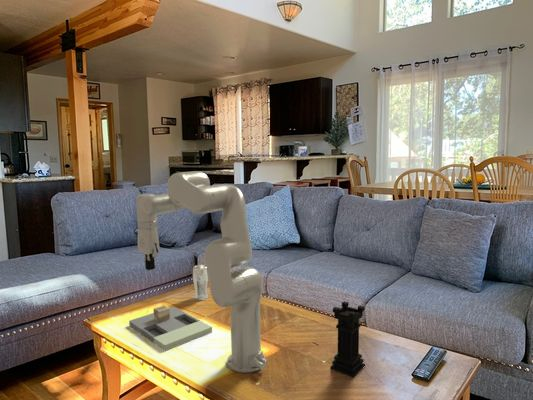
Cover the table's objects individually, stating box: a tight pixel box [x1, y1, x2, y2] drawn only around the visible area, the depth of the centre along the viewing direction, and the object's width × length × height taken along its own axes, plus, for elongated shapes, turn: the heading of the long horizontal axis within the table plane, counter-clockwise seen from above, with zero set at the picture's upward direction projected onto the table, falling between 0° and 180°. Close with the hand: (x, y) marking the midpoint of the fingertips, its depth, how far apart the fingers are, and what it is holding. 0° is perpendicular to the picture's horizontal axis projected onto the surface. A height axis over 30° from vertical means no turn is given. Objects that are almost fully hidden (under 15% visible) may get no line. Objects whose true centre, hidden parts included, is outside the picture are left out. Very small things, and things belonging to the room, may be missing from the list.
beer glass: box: [192, 264, 209, 301], centre depth 189 cm, size 7×7×15 cm
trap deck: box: [128, 306, 213, 351], centre depth 158 cm, size 28×20×2 cm
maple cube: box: [152, 305, 170, 323], centre depth 162 cm, size 4×4×4 cm
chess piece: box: [330, 301, 366, 378], centre depth 128 cm, size 8×8×20 cm
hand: (150, 269), depth 165 cm, fingers closed
